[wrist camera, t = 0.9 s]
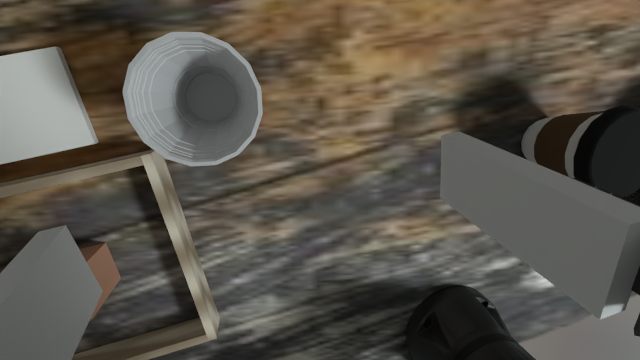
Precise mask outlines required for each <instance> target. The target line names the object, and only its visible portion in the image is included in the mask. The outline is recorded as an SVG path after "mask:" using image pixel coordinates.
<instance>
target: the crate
mask: <svg viewBox="0 0 640 360" xmlns="http://www.w3.org/2000/svg"><path fill="white" fill-rule="evenodd" d="M142 165H144V167H145V169H146V172H147V175H148V178H149V180H150V183H151V186H152V188H153V191H154V194H155V197H156V199H157V202H158V205H159V207H160V210H161V213H162V216H163V218H164V221H165V224H166V226H167V229H168V232H169V235H170V237H171V240H172V243H173V245H174V248H175V251H176V254H177V256H178V259H179V262H180V264H181V267H182V270H183V273H184V275H185V278H186V281H187V283H188V286H189V289H190V292H191V294H192V297H193V300H194V302H195V305H196V308H197V311H198V313H199V316H200V317H198V318H195V319H192V320H188V321H185V322H182V323H178V324H175V325H171V326H168V327H165V328H161V329H158V330H155V331H151V332H148V333H145V334H141V335H138V336H134V337H131V338H128V339H124V340H121V341H118V342H114V343H111V344H108V345H104V346H101V347H97V348H94V349H91V350H87V351H84V352H81V353H77V354H74V356H73V358H72V360H149V359H152V358H155V357H158V356H162V355H165V354H168V353H171V352H175V351H178V350H181V349H184V348H188V347H191V346H194V345H197V344H201V343H204V342H207V341H210V340H214V339H217V333H218V326H219V319H220V318H219V315H218V312H217V309H216V306H215V303H214V300H213V297H212V295H211V292H210V289H209V286H208V283H207V280H206V277H205V274H204V272H203V269H202V266H201V263H200V260H199V257H198V254H197V251H196V249H195V246H194V243H193V240H192V237H191V234H190V231H189V228H188V226H187V223H186V220H185V217H184V214H183V211H182V208H181V205H180V203H179V200H178V197H177V194H176V191H175V188H174V185H173V182H172V180H171V177H170V174H169V171H168V168H167V165H166V162H165V159H164V157H163V156H161V155H160V154H159V153H157V152H156V151H155V150H153V149H151V150H147V151H143V152H138V153H134V154H129V155H125V156H120V157H116V158H111V159H107V160H103V161H98V162H94V163H89V164H85V165H80V166H76V167H71V168H67V169H62V170H58V171H54V172H49V173H45V174H40V175H36V176H31V177H27V178H22V179H18V180H14V181H9V182H5V183H0V198H3V197H8V196H12V195H16V194H21V193H25V192H29V191H34V190H38V189H42V188H47V187H51V186H55V185H60V184H64V183H68V182H73V181H77V180H81V179H86V178H90V177H94V176H99V175H103V174H107V173H112V172H116V171H120V170H125V169H129V168H133V167H138V166H142Z"/></svg>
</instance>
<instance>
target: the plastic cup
mask: <svg viewBox="0 0 640 360" xmlns="http://www.w3.org/2000/svg"><path fill="white" fill-rule="evenodd" d="M122 92H123V97H124V102H125V107H126V112H127V117H128V120H129V121H130V123H131V124H132V126H133V127H134V129H135V130H136V132H137V133H138V135H139V136H140V138H141V139H142V141H143V142H144V143H145V144H147V145H148V146H149V147H151V148H152V149H153V150H155V151H156V152H157V153H159V154H160V155H161V156H163V157H164V158H165V159H169V160H172V161H175V162H179V163H182V164H185V165H188V166H205V165H217V164H219V163H222V162H224V161H226V160H228V159H230V158H232V157H235V156H237V155H239V154H240V153H241V151H242V150H243V149H244V148H245V147H246V146H247V145H248V144H249V143H250V142H251V141H252V139H253V138H254V137H255V135H256V132H257V129H258V126H259V123H260V120H261V117H262V115H263V111H262V96H261V87H260V85H259V83H258V81H257V79H256V77H255V75H254V73H253V70H252V68H251V66H250V64H249V63H248V62H247V61H246V60H245V59H244V58H243V57H242V56H241V55H240V54H239V53H238V52H237V51H236V50H235V49H234V48H232V47H231V46H230V45H229V44H228V43H226V42H223V41H221V40H219V39H216V38H214V37H211V36H209V35H207V34H204V33H202V32H171V33H168V34H166V35H164V36H162V37H159V38H157V39H155V40H153V41H151V42H148V43H146V44H145V45H144V47H143V48H142V49H141V50H140V52H139V53H138V54H137V55H136V56H135V58H134V59H133V60H132V61H131V62H130V64H129V65H128V70H127V74H126V78H125V82H124V87H123V91H122Z"/></svg>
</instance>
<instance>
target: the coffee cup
mask: <svg viewBox="0 0 640 360" xmlns="http://www.w3.org/2000/svg"><path fill="white" fill-rule="evenodd" d="M521 147H522V152H523V154H524V156H525V158H526V159H527V160H529V161H531V162H534V163H536V164H538V165H541V166H543V167H546V168H548V169H550V170H553V171H555V172H558V173H560V174H562V175H565V176H567V177H571V178H575V179H579V180H581V181H584V182H586V183H589V184H591V185H594V186H596V187H597V189H599V188H601V189H603V190H606V191H608V192H611V193H612V195H618V196H620V197H625V196H628V195H631V194H633V193H634V192H636V191H637V190H638V189H639V188H640V108H637V107H632V106H624V105H623V106H619V107H616V108H612V109H609V110H606V111H601V112H590V113H580V114H569V115H562V116H558V117H552V118H545V119H542V120H539V121H537V122H535V123H533V124H532V125H531V126H529V127H528V129H527V130H526V132H525V133H524V135H523V138H522V142H521Z"/></svg>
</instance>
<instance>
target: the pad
mask: <svg viewBox="0 0 640 360" xmlns="http://www.w3.org/2000/svg"><path fill="white" fill-rule="evenodd" d="M96 143H99V142H98V139H97V137H96V134H95V132H94V129H93V127H92V124H91V122H90V119H89V117H88V114H87V112H86V109H85V107H84V104H83V102H82V99H81V97H80V94H79V92H78V89H77V87H76V85H75V82H74V80H73V77H72V75H71V72H70V70H69V67H68V65H67V62H66V60H65V57H64V55H63V52H62V50H61V48H60V47H49V48H44V49H38V50H33V51H27V52H21V53H16V54H10V55H4V56H0V164H5V163H9V162H14V161H19V160H23V159H28V158H32V157H37V156H42V155H46V154H51V153H55V152H60V151H65V150H69V149H74V148H78V147H83V146H88V145H92V144H96Z"/></svg>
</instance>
